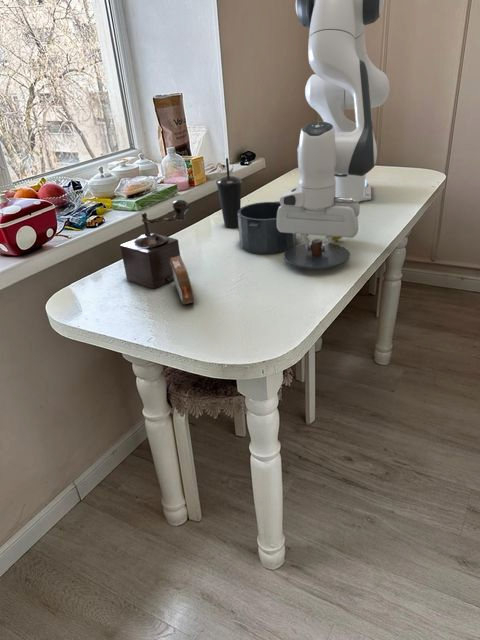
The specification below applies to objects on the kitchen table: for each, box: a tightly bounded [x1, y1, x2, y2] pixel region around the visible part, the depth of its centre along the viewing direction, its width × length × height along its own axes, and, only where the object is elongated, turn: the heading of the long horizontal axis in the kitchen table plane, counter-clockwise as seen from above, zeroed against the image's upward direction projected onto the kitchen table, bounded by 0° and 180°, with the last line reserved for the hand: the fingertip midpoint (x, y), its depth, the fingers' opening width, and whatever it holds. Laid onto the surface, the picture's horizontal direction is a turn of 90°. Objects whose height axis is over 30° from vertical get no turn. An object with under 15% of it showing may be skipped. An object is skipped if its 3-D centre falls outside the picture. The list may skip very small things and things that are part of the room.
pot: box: [238, 200, 297, 255], centre depth 148 cm, size 16×21×10 cm
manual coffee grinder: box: [120, 199, 190, 290], centre depth 132 cm, size 16×11×18 cm
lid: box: [283, 238, 351, 270], centre depth 136 cm, size 17×17×5 cm
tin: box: [170, 254, 195, 305], centre depth 123 cm, size 15×3×8 cm, turn 17°
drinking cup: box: [215, 157, 243, 229], centre depth 160 cm, size 8×8×20 cm
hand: (316, 250), depth 136 cm, fingers closed on lid, 2 cm apart
